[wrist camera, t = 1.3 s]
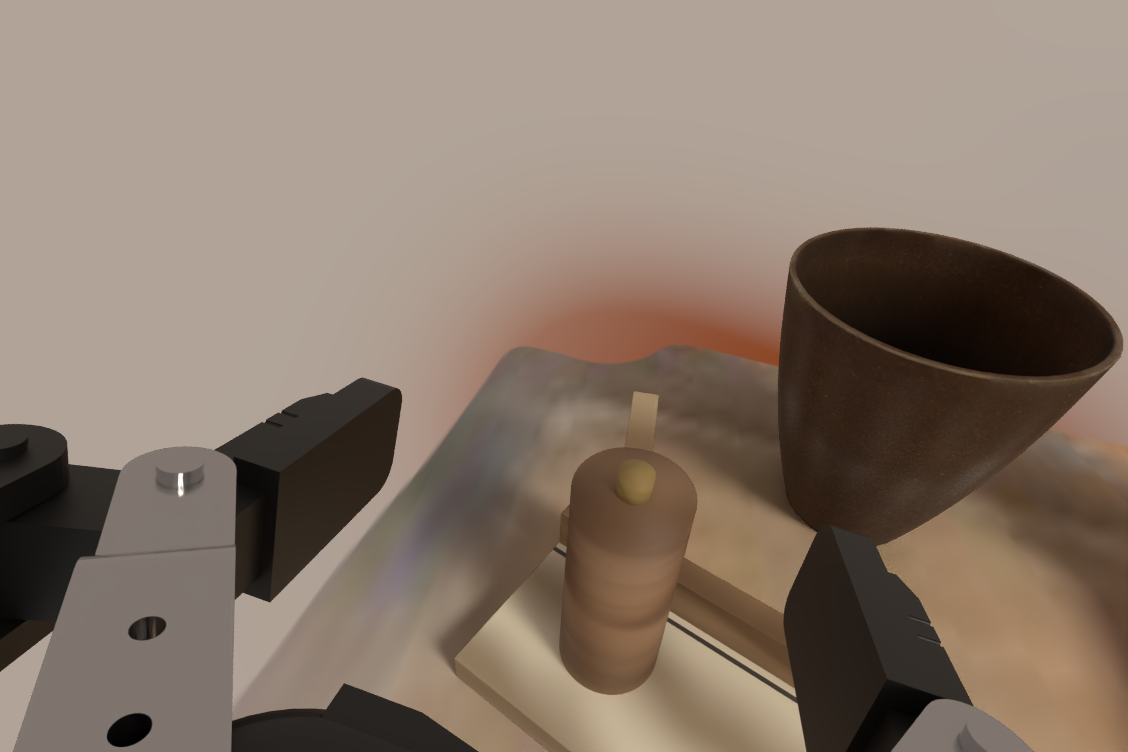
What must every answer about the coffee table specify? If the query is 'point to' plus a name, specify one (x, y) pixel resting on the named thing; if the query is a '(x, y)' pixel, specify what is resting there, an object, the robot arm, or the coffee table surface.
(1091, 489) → the coffee table surface
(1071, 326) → the plant pot
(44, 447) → the robot arm
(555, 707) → the board
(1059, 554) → the coffee table surface
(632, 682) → the cylinder
